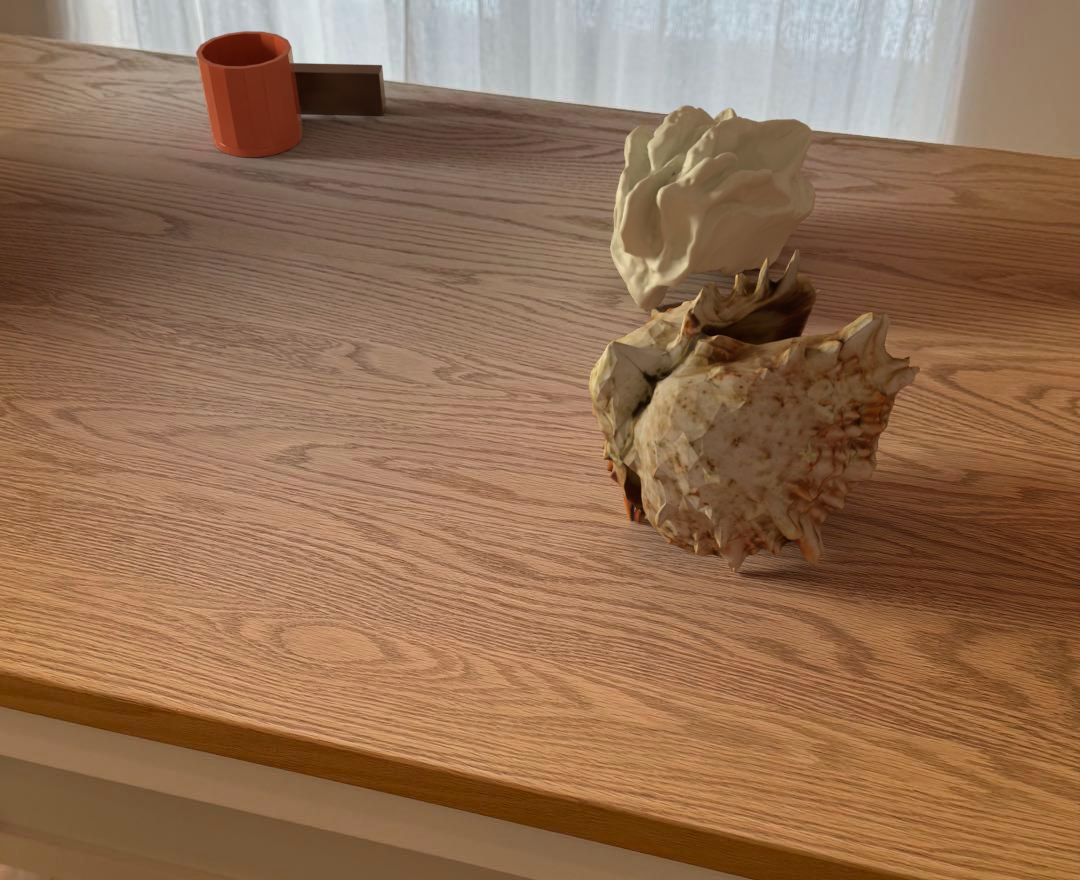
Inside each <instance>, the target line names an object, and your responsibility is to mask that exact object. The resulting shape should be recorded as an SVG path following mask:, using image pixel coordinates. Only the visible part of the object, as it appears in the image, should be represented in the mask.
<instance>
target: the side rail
mask: <svg viewBox="0 0 1080 880" xmlns="http://www.w3.org/2000/svg"><path fill="white" fill-rule="evenodd" d="M294 68H295V76H296V83H297V90H298V97H299V104H300V111H301V115H341V116H344V115H346V116H384V114H385V111H386V108H387V102H386V93H385V92H386V91H385V81H384V80H385V79H384V69H383V64H358V63H357V64H356V63H355V64H354V63H353V64H351V63H347V64H346V63H345V64H344V63H306V62H305V63H304V62H294Z"/></svg>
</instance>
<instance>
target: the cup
mask: <svg viewBox="0 0 1080 880" xmlns="http://www.w3.org/2000/svg"><path fill="white" fill-rule="evenodd" d="M195 57H196V62H197V65H198V72H199V77H200V83H201V87H202V92H203V97H204V102H205V103H204V104H205V108H206V113H207V118H208V123H209V128H210V132H211V133H210V134H211V135H212V141H213V144H214V146H215V147H216V149H218V150H219V151H220V152H222V151H223V152H222V153H224V152H225V153H224V154H227V155H229V154H231V155H230V156H233V157H239V158H262V157H263V156H264V157H269V156H270V157H271V156H274V155H278V154H281V153H284V152H286V151H288V150H291V149H292V148H294V147H295V146H297V145H298V144H299V143H300V142H301V141H302V139H303V135H304V134H303V119H302V114H301V111H300V104H299V97H298V90H297V83H296V76H295V68H294V63H295V62H294V54H293V48H292V45H291V42H290V41H289V40H288V39H287V38H285V37H283V36H282V35H280V34H278V33H273V32H272V33H271V32H266V31H258V30H257V31H256V30H252V31H251V30H249V31H248V30H245V31H243V30H242V31H236V32H229V33H224V34H221V35H217V36H213V37H211V38H209V39H208V40H206V41H205V42H202V43H201V44H200V45H199V46H198V48H197V50H196V51H195ZM264 157H263V158H264Z"/></svg>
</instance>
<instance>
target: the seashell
mask: <svg viewBox="0 0 1080 880" xmlns="http://www.w3.org/2000/svg"><path fill="white" fill-rule="evenodd" d="M800 256H801V255H800V249H798V248H797V249H795V250H794V253H793V255H792V257H791V259H790V261H789V262H788V265H787V266H786V269H785V271H784V272H783V275H782V276H781V278H780V279H778V280H777V281H774V280H772V279H771V277H770V276H769V275H770V266H769V258H768V256H767V258H766V260H765V262H764V264H763V266H762V268H761V269H760V271H759V274H758V279H757V282H756V281H752V280H750V279H749V278H747V277H746V276H745V274H744V273H743V272H741V273H738V274H736V275H735V280H734V286H733V288H732V290H731V292H730V293H729V294H728V295H727V296H726V295H723V294H721V292H720V290H719V289H718V285H717V283H716V282H713V281H710V282H708V283H707V284H705V285H704V286H703V287H702V288H701V290H700V291H699V293H698V295H697V296H696V297H695V299H691V300H687V301H683V302H682V304H681V305H679V306H677V307H673V308H667V310H666V311H665V312H662V311H660V310H658V309H656V308H655V309H652V311H650V317H649V320H648V321H647V322H646V323H645V324H643V325H642V326H640V327H637V328H636V329H634V330H633V331H631V332H629V333H627V334H625V336H623V337H621V338H619V339H611V341H610V342H609V343H608V344H607V345H606V347H605V349H604V351H603V353H602V354H601V356H600V357H599V359H598V360H597V361H596V363H595V365H594V366H593V368H592V370H591V371H590V375H589V382H588V391H589V394H590V398H591V402H592V411H591V414H592V415H593V417H594V419H596V421H597V424H598V426H599V428H600V431H601V433H602V434H603V437H604V441H603V443H602V445H601V449H602V450H603V455H602V460H605V461H608V462H607V467H606V471H607V472H610V475H609V478H610V479H611V480H612V481H613V482H615V483H617V484H618V485H619V487H620V489H621V492H622V494H623V495H622V496H623V501H624V508H625V512H626V515H627V519H628V521H629V520H630V521H631V522H635V523H638V524H642V523H643V522H644V520H645V517H646V518H647V520H648V522H649V524H650V525H651V526H652V528H653V529H654V530H656V532H657V533H658V534H660V536H661V537H662V538H663V539H664V540H665V541H666V542H667V543H668V545H669V544H670V545H673V546H675V547H677V548H680V549H681V550H684V551H686V552H689V553H693V554H695V555H697V556H698V557H702V558H703V557H706V556H715V557H719V558H722V559H723V560H724V561H725V562H726V563H727V565H728V566H729V569H730V570H731V572H732V573H733V572H735V571H736V572H737V571H738V570H739V569H740V568H741V566H742V565H743V563H744V561H745V559H746V558H747V557H749V556H756V555H757V554H758V553H759V551H761V550H763V551H764V550H766V551H767V552H768V553H769V554H770V553H772V555H773V556H774V557H777V556H780V554H781V551H782V548H783V547H784V546H785V545H786V544H787V543H791V542H795V545H797V546H798V549H799V550H800V552H801V554H802V555H803V557H804V559H805V560H806V562H808V563H809V564H811V565H812V566H817V565H818V564H819V560H820V558H823V557H824V556H825V553H826V548H825V545H824V541H823V539H822V530H821V529H822V528H821V526H822V524H823V523H824V522H825V521H826V520H827V518H828V516H829V515H830V513H831V512H833V511H836V510H839V509H842V510H843V509H844V507H846V503H847V496H848V494H849V492H851V491H852V490H853V489H854V488H855V487H856V486H857V485H858V484H859V483H860V482H867V481H870V480H871V479H873V473H874V472H875V471H876V468H877V466H878V462H877V456H876V455H877V454H876V453H877V451H878V450H879V439H880V437H881V434H882V433H883V432H884V431H885V430H886V429H887V428H888V425H889V419H890V415H891V413H892V411H893V408H894V405H895V402H896V397H897V395H898V394H899V392H900V391H901V390H903V389H905V388H906V387H908V386H909V385H910V384H911V385H912V384H913V383H914V382H915V378H916V375H917V374H919V372H920V371H921V368H920V366H918V365H914V366H913V365H912V366H909V365H910V364H911V361H910V358H911V355H910V356H906V357H903V358H901V357H894V356H892V355H891V353H889V352H888V351H887V349H886V346H885V344H886V340H887V334H888V330H889V327H890V326H891V324H892V321H891V319H890V316H889V314H888V313H885V312H878V311H870V312H867V313H863V314H861V315H860V316H858V317H857V318H856V319H855V320H853V321H852V322H851V323H849V324H847V325H846V326H844V327H843V328H841V329H839V330H838V331H835V332H832V333H823V334H811V335H803V332H804V330H805V327H806V325H807V323H808V320H809V317H810V315H811V313H812V311H813V307H814V305H815V303H816V302H817V297H818V295H819V293H820V291H821V289H817V290H816V289H815V287H814V284H812V281H811V279H810V277H809V276H808V275H807V274H802V273H801V274H800V273H799V272H798V271H799V267H800V261H801V260H800V259H801V257H800ZM798 273H799V274H798ZM736 572H735V573H736Z"/></svg>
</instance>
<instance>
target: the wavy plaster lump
mask: <svg viewBox="0 0 1080 880" xmlns="http://www.w3.org/2000/svg"><path fill="white" fill-rule="evenodd" d="M813 139H814V133H813V130H812V129H811V127H809V125H808V124H806V123H804V122H802V121H800V120H798V119H795V118H791V119H790V118H789V119H788V118H786V119H782V118H781V119H779V118H778V119H777V118H776V119H768V120H762V121H756V120H753V119H750V118H747V117H742V116H738V114H737V113H736V111H735V110H734V108H732V107H728V108H725V109H723V110H721V111H720V112H719V113H718V114H717V115H716V116H715V117H712V115H710V114H709V113H708V112H707V111H706V110H704V109H703V108H701V107H697V108H696V107H695V106H693V105H688V104H686V105H681V106H679V107H678V108H677V109H675V110H673V111H671V112H669V113H668V115H666V116H665V117H664V119H663V123H662V124H660V125H659V126H658V127H657V128H656V129H655V130H654V132H653V133H652V131H651V130H650V129H649V128H648V127H647V126H646V125H643V124H639V125H637V126H636V127H635V128H633V130H631V131H630V132H629V134H628V135H627V136H626V138H625V141H624V149H623V155H624V162H625V165H624V166H625V167H624V168H623V170H622V172H621V174H620V176H619V181H618V186H617V189H616V193H615V205H614V208H613V233H612V236H611V241H610V246H609V251H610V255H611V259H612V261H613V264H614V266H615V268H616V269H617V271H618V273H619V275H620V276H621V278H622V280H623V282H624V283H625V285H626V288H627V291H628V293H629V295H630V296H631V298H632V300H633V302H634V303H635V305H636V306H637V307H638V308H640V309H642V310H643V311H645V312H652V309H656V308H657V307H658V306H660V304H661V303H662V302H663V301H664V299H665V297H666V295H667V292H668V289H669V287H672V288H676V287H678V286H680V285H681V284H682V283H683V282H685V281H686V280H687V278H689V276H691V274H693V275H698V274H703V273H707V272H709V271H717V272H721V273H722V274H724V275H727V274H728V275H735V276H736V275H739V274H741V273H743V272H744V271H751V270H755V269H759V270H761V268H762V266H763V264H764V262H765V260H766V258H767V256H768V258H769V267H771V266H772V265H773V264H774V263H775V262H776V261H777V260H778V259H779V257H780V254H781V253H782V250H783V248H784V247H785V246H786V245H787V242H788V239H789V238H790V237H791V236H792V235H793V234H794V233H795V232H796V231H797V230H798V228H799V226H800V224H801V223H802V222H803V221H805V220H806V219H807V218H808V217H809V216H810V215H811V214H812V213H813V211H814V207H815V204H816V197H817V196H816V188H815V186H814V185H813V184H812V182H811V181H810V180H808V179H802V177H797V174H799V172H800V171H801V170H802V168H803V166H804V163H805V159H806V156H807V153H808V150H809V148H810V147H811V146H812V144H813Z"/></svg>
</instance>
